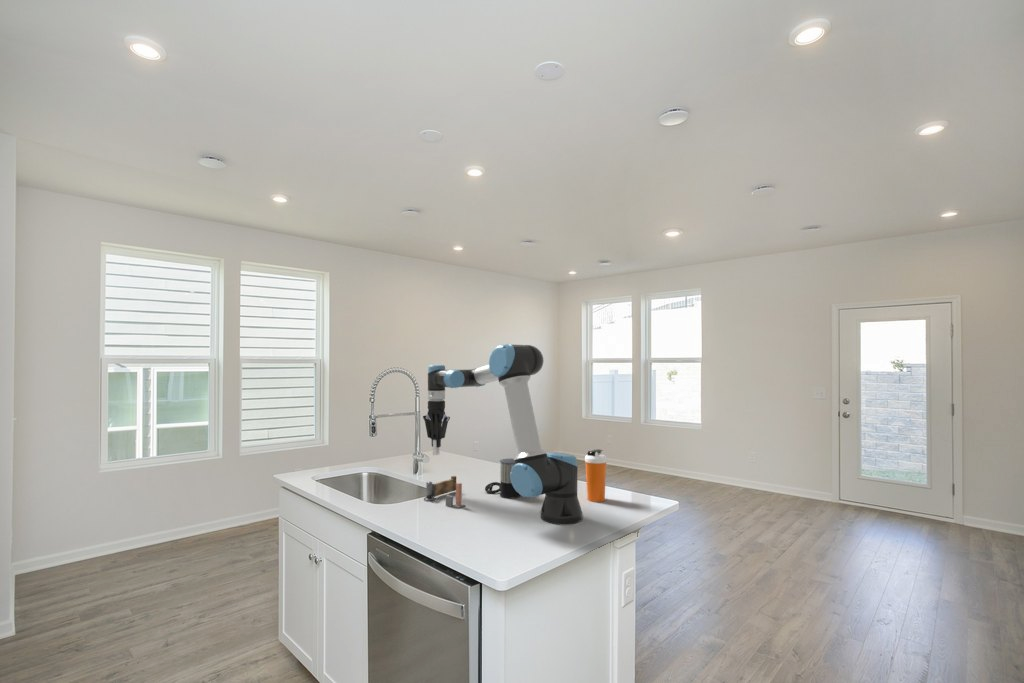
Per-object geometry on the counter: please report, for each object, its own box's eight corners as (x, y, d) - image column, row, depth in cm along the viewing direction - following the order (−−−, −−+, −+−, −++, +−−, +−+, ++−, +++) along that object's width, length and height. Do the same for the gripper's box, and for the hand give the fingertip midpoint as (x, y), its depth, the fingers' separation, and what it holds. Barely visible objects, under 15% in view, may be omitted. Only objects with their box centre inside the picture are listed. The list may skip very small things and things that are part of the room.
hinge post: (436, 499, 205) (436, 482, 205) (429, 501, 201) (429, 484, 201) (429, 497, 207) (429, 480, 207) (421, 499, 204) (421, 482, 204)
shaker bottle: (610, 498, 205) (609, 450, 206) (602, 503, 198) (601, 453, 199) (590, 495, 210) (590, 448, 211) (581, 500, 203) (581, 451, 203)
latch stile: (465, 506, 195) (465, 483, 195) (458, 508, 191) (458, 485, 192) (452, 503, 199) (452, 480, 199) (445, 505, 195) (445, 482, 196)
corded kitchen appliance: (521, 498, 206) (521, 462, 206) (483, 498, 206) (483, 462, 206) (521, 490, 220) (521, 456, 220) (485, 489, 220) (485, 456, 221)
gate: (433, 497, 205) (434, 482, 205) (430, 496, 206) (431, 481, 206) (456, 490, 216) (456, 476, 216) (453, 489, 217) (453, 475, 217)
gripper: (419, 400, 217) (418, 454, 216) (443, 401, 211) (443, 457, 210) (429, 399, 223) (429, 451, 222) (453, 400, 218) (453, 454, 217)
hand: (436, 454), depth 216 cm, fingers closed
